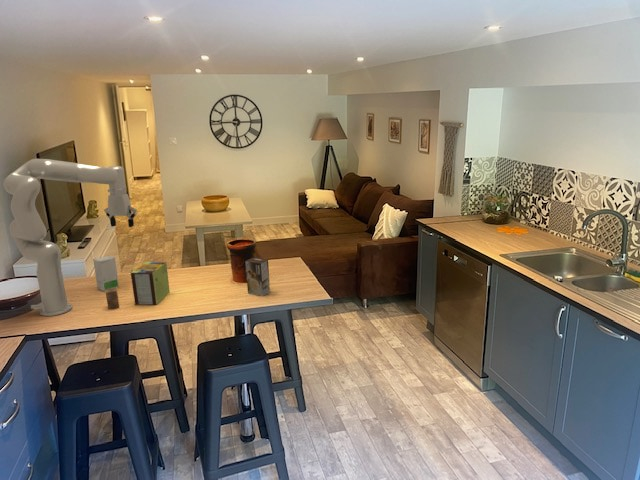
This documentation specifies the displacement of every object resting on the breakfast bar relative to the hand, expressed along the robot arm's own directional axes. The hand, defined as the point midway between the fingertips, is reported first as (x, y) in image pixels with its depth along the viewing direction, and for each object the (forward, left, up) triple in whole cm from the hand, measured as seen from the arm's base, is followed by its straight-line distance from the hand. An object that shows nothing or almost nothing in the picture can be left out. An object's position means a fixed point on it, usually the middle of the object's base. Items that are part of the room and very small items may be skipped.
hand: (122, 226), depth 236 cm
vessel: (+53, -25, -30) cm, 65 cm away
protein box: (+8, -29, -30) cm, 42 cm away
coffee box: (+54, -46, -30) cm, 76 cm away
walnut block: (-9, -31, -29) cm, 43 cm away
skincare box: (-10, -4, -30) cm, 32 cm away
